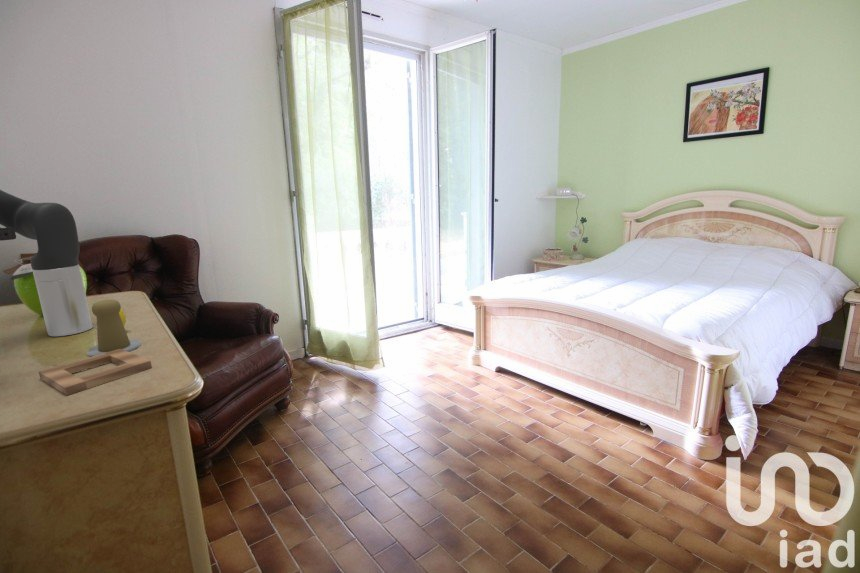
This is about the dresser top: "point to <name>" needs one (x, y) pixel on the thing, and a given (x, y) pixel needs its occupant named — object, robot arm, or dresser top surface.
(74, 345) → the dresser top surface
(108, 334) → the cork
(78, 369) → the walnut board
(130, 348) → the slate coaster
